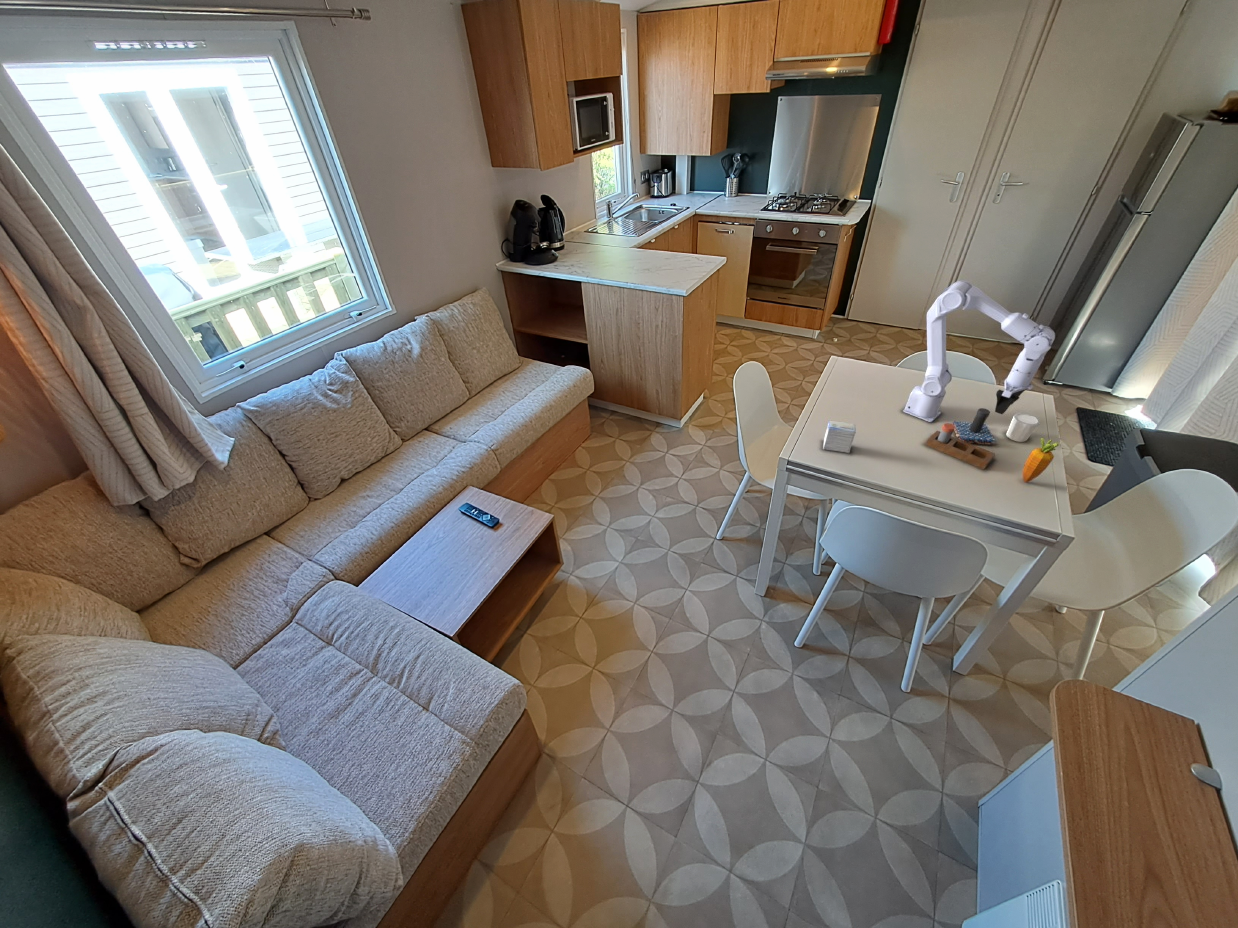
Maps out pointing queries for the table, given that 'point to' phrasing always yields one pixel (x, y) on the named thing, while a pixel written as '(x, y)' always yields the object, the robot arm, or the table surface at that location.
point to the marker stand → (962, 450)
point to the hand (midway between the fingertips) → (1003, 407)
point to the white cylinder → (1022, 427)
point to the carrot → (1038, 461)
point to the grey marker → (946, 433)
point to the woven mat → (973, 434)
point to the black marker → (979, 420)
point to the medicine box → (839, 436)
